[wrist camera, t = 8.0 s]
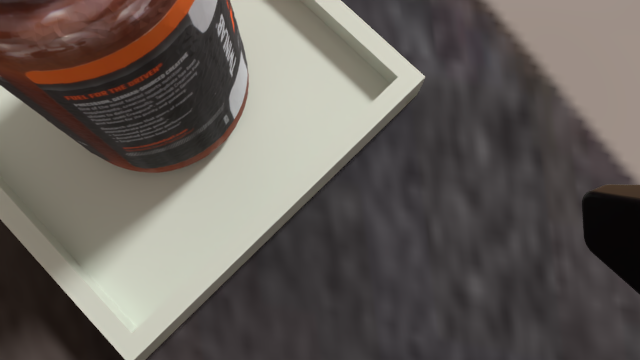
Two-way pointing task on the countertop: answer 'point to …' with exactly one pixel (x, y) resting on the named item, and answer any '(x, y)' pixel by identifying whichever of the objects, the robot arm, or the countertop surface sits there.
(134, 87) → the supplement bottle
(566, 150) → the countertop surface
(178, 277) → the tray
